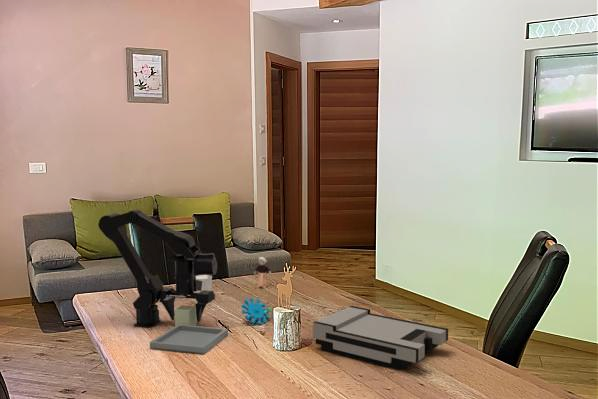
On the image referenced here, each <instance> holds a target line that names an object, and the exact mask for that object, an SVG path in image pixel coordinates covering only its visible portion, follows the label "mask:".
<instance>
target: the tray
mask: <svg viewBox="0 0 598 399" xmlns="http://www.w3.org/2000/svg"><path fill="white" fill-rule="evenodd" d="M228 335H229V329H228V328H222V327H210V326H199V325H194V326H191V325H180V324H178V325H177V326H175V325H174V326H173V327H172V328H170V329H168V330H167V331H166V332H164V333H162V334H161V335H159V336H157V337H156V338H155V339H153V340H151V341H149V350H157V351H167V352H175V353H183V354H184V353H185V354H192V355H193V354H194V355H200V356H204V355H205V354H207V353H208V352H209V351H210V350H212V349H213V348H214V347H215V346H216V345H217V344H219V343H220V342H222V341H223V340H224V339H226V338H227V336H228Z"/></svg>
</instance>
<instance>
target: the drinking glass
mask: <svg viewBox="0 0 598 399" xmlns="http://www.w3.org/2000/svg"><path fill="white" fill-rule="evenodd" d="M195 277H196V280H199V281H202V289H201V291H203V290H207V291H213V290H212V289H213V288H212V286H213V281H212V280H213V275H201V274H197V275H195ZM201 291H196V292H194V293H199V292H201ZM194 302H195V304H196V303H198V302H197V301H196V299H194ZM195 304H194V305H195ZM211 304H212V301H211V302H209V303H208V304H206V306H209V305H211Z"/></svg>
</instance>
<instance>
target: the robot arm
mask: <svg viewBox="0 0 598 399" xmlns="http://www.w3.org/2000/svg"><path fill="white" fill-rule="evenodd" d="M129 224H133V225H135V226H137V227H139V228H140V229H142V230H144V231H146V232H147V233H149V234H151V235H153V236H154V237H156V238H158V239H159V240H162V242H164V243H165V244H166V246H167V247H168V249H170V250H171V251H172V252H173V254H172V255H171V256H170V257H169V258H168V261H170V262H171V261H172V262H174V266H175V268H174V269H175V277H174V278H173V282H174V283H175V288H174V287H168V286H167V287H165V286H164V285H165V284H164V283H163V282H162V280H161V279H160V276H159V275H158V274H156V275H155V276H154V275H153V274H152V273H150V272H149V270H148V268H147V267H146V265H145V263H144V262H143V260H142V259H141V256H140V255H139V253H138V252H137V250H136V248H135V247H134V245H133V243H132V241H131V240H130V238H129V236H128V230H127V225H129ZM97 225H98V229H99V230H100V231H101V233H102V234H103V235H104V236H105V237H106V238H107V239H109V240H110V241H111V242H113V244H114V245H115V247H116V248H117V251H118V252H119V254H120V255H121V257H122V259H123V260H124V263H125V265H126V266H127V268H128V269H129V270H130V272H131V274H132V276H133V277H134V280H135V282H136V288H137V289H136V290H137V293H138V295H139V296H138V297H137V298H136V299H135V300H134V301H133V303H132V305H133V307H134V309H135V313H136V314H135V315H136V316H135V318H136V323H134V324H133V326H134V327H143V328H152V327H154V326H156V325H157V324H159V323H161V322H162V321H161V319H160V310H159V306H158V305H159V304H158V303H161V304H162V305H163V307H164V308H165V310H166V312H167V314H168V316H169V317H170V320H172V321H175V302H176V298H177V299H179V298H180V299H191V300H192V299H193V300H195V299H196V301H197V302H198V303H196V304H194V305H195V306H196V323H198V324H199V323H200V322H201V320H202V316H203V313H204V310H205V308H206V307H207V305H206V304H208V303H209V302H211V303H212V302H213V301H214V300H216V296H215V295H216V294H215V292H214V291H213V290H212V291H207V290H203V291H201V289H202V281H199V280H196V277H195V276H196V275H210V276H213V275H216V274H217V271H218V262H217V258H216V254H215V253H213V252H212V253H202V251H201V250H200V248H199V247H198V246H197V244H196V243H195V242H196V241H195V237H193V236H192V235H190V234H188V233H186V232H184V231H179V230H175V229H172V228H170V227H169V226H166V225H165V224H163V223H161V222H160V221H158V220H156V219H154V218H152V217H151V216H149V215H147V214H145V213H144V212H142V211H141V210H140V209H137V208H136V209H133V210H130V211H128V212H125V213H121V214H120V213H116V212H115V213H109V214H107V215H103V216H101V217H100V219H99V220H98V224H97ZM194 273H195V274H196V275H194ZM196 291H201V292H199V293H195V292H196Z"/></svg>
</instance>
